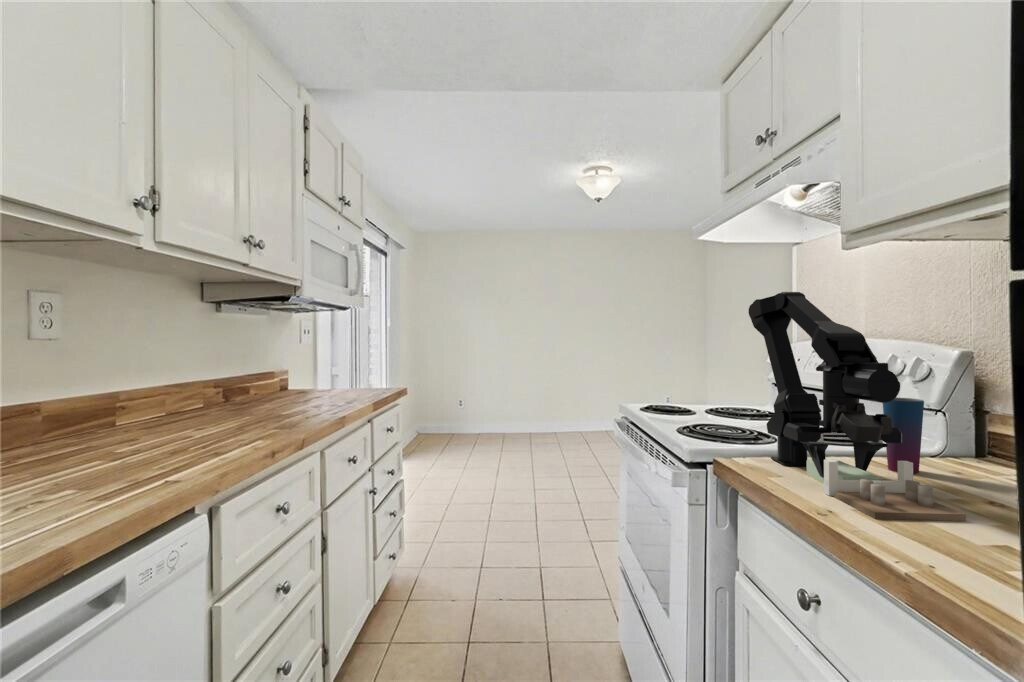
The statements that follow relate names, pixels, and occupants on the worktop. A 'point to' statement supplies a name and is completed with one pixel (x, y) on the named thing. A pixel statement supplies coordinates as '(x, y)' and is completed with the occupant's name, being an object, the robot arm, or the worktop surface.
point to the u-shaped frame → (854, 485)
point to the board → (842, 472)
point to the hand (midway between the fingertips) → (841, 477)
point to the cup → (905, 431)
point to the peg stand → (899, 502)
